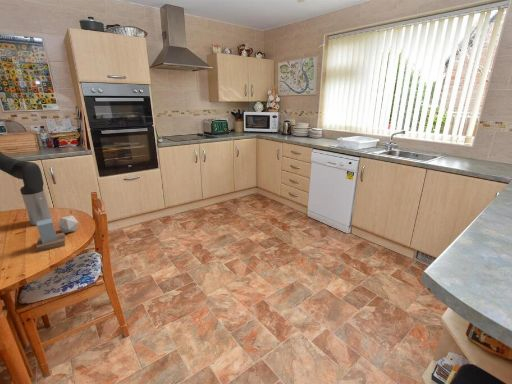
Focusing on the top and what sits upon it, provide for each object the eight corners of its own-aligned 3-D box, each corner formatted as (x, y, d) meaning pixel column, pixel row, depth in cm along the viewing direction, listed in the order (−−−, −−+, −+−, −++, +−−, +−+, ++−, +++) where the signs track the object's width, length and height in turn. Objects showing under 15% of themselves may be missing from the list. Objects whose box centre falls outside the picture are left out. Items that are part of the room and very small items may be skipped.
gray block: (41, 239, 125) (36, 221, 122) (56, 235, 128) (51, 218, 125) (42, 244, 121) (37, 226, 118) (57, 240, 124) (52, 222, 121)
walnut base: (39, 243, 127) (38, 237, 126) (65, 237, 132) (64, 232, 131) (38, 253, 119) (36, 247, 118) (65, 246, 124) (63, 240, 123)
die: (80, 226, 143) (66, 213, 140) (84, 223, 137) (69, 210, 134) (67, 238, 138) (51, 225, 135) (70, 235, 132) (54, 221, 129)
